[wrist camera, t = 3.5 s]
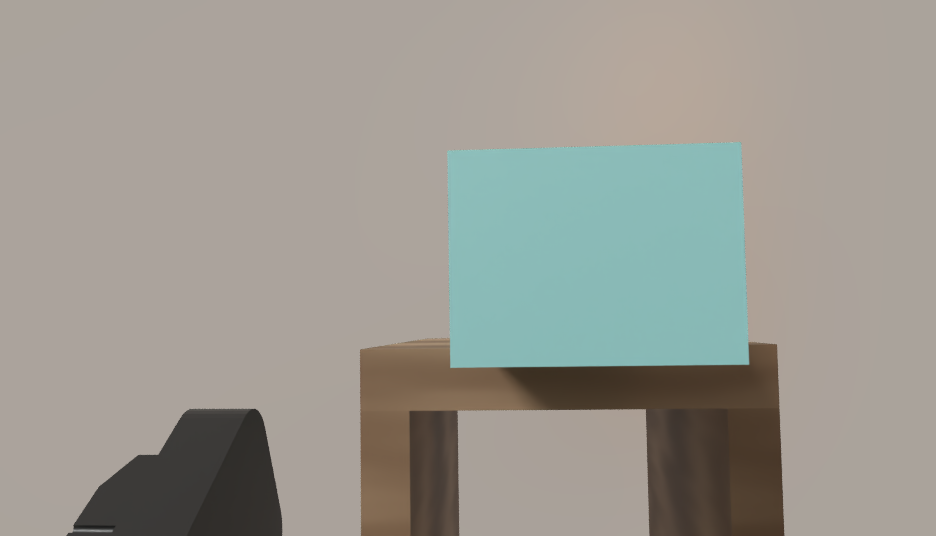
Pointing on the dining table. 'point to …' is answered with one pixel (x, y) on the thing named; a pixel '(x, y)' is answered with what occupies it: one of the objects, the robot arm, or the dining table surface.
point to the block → (597, 256)
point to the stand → (575, 388)
